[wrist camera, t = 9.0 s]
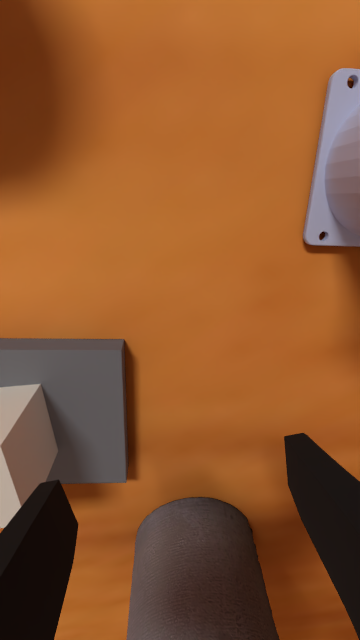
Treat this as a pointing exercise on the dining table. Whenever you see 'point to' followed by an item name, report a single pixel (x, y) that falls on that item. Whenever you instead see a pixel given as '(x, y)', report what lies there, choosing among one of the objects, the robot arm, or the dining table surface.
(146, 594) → the pillar candle
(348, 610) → the robot arm
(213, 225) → the dining table surface
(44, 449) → the cube
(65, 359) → the serving board
